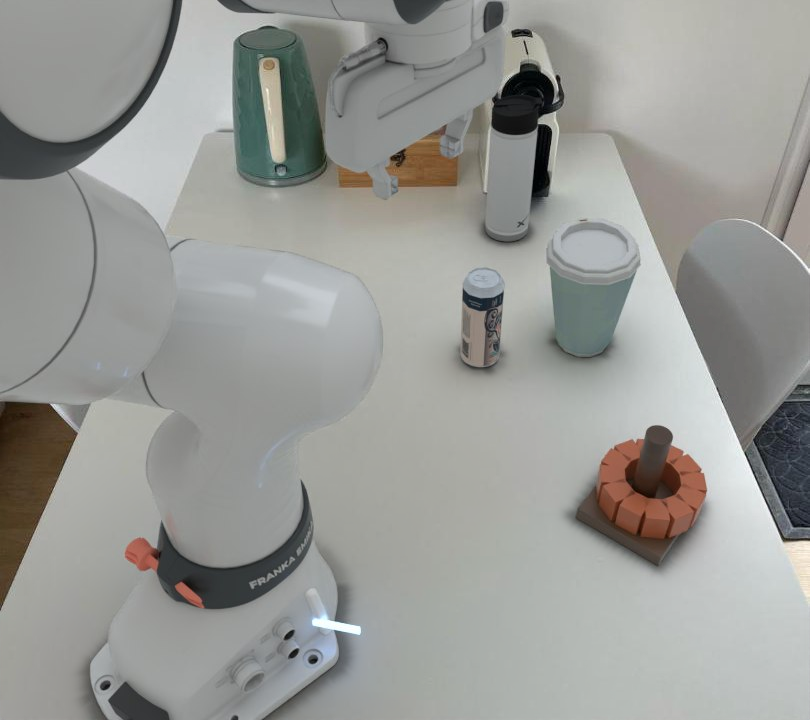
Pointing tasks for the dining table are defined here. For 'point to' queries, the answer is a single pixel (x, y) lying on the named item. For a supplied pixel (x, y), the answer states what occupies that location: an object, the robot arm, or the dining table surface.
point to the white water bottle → (511, 166)
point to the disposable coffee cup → (590, 282)
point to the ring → (650, 512)
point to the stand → (644, 484)
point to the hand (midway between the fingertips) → (419, 174)
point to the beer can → (481, 317)
